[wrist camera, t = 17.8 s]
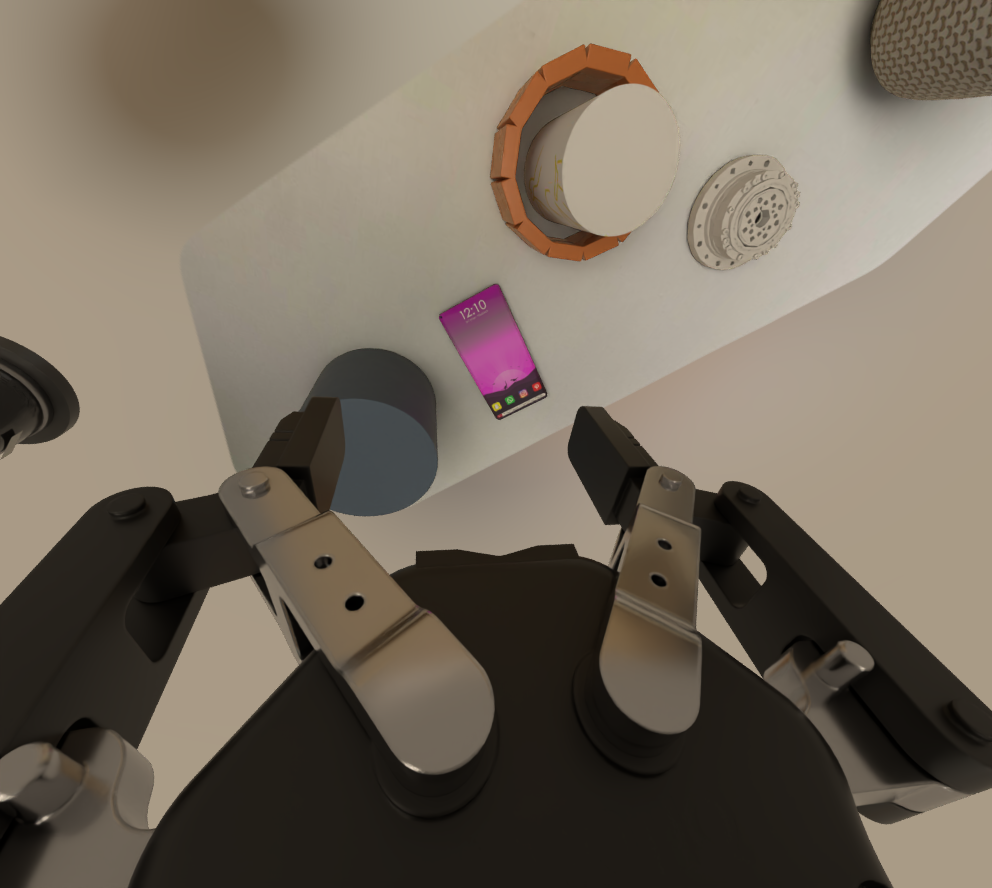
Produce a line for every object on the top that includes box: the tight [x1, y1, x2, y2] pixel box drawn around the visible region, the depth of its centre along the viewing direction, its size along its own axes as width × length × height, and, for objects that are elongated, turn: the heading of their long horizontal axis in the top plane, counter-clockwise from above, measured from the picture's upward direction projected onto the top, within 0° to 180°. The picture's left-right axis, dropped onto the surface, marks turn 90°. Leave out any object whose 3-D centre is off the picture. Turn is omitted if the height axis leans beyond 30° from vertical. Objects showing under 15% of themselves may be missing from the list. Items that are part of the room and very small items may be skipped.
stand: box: [299, 348, 438, 516], centre depth 40 cm, size 14×14×12 cm
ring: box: [490, 44, 660, 261], centre depth 32 cm, size 13×13×6 cm
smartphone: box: [439, 284, 547, 420], centre depth 43 cm, size 7×15×1 cm, turn 26°
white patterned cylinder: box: [524, 84, 680, 236], centre depth 30 cm, size 8×8×12 cm
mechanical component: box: [688, 155, 800, 270], centre depth 37 cm, size 10×4×10 cm
